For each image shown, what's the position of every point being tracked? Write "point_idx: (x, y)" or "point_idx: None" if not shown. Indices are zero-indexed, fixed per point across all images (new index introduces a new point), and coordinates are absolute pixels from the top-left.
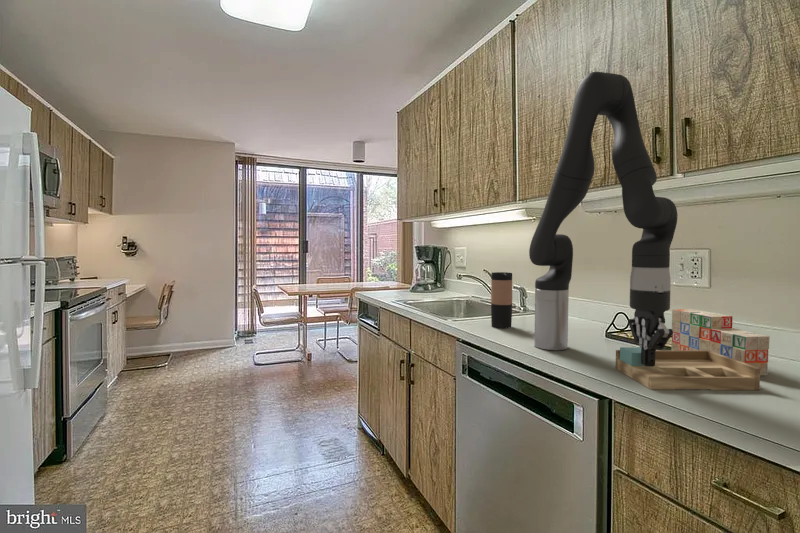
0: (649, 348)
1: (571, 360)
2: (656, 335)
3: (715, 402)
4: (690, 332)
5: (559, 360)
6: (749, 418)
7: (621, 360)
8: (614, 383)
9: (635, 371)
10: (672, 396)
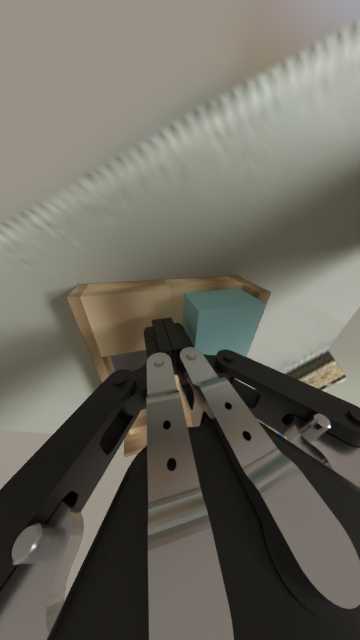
0: (144, 368)
1: (327, 173)
2: (20, 499)
3: (30, 371)
4: (274, 430)
5: (352, 112)
6: None
7: (232, 289)
8: (110, 193)
9: (154, 288)
10: (33, 313)
